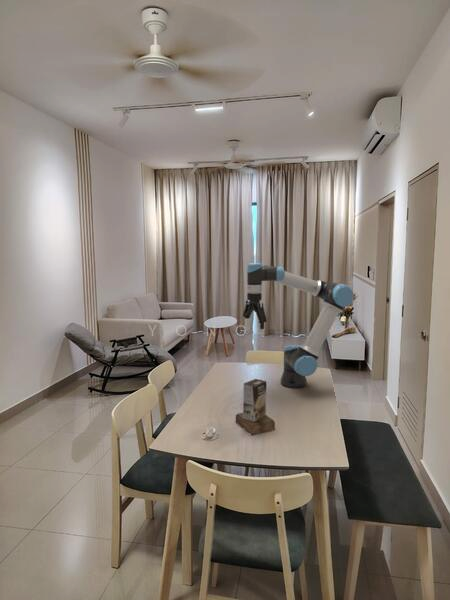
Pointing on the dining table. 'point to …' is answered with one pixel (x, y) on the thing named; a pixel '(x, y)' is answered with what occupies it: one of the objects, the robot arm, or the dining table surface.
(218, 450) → the dining table surface
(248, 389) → the coffee box
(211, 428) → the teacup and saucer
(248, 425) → the walnut base
